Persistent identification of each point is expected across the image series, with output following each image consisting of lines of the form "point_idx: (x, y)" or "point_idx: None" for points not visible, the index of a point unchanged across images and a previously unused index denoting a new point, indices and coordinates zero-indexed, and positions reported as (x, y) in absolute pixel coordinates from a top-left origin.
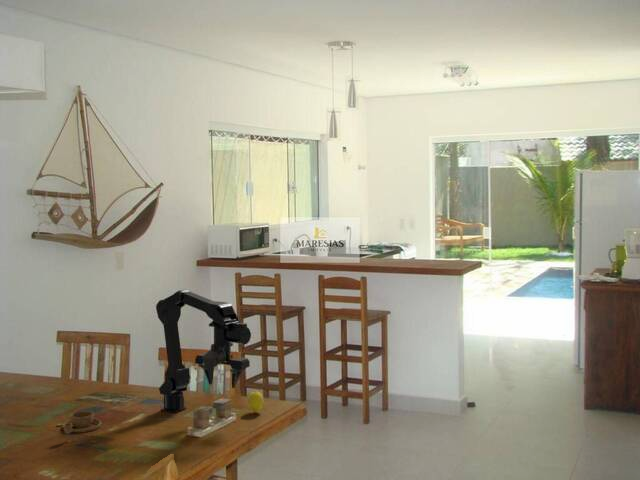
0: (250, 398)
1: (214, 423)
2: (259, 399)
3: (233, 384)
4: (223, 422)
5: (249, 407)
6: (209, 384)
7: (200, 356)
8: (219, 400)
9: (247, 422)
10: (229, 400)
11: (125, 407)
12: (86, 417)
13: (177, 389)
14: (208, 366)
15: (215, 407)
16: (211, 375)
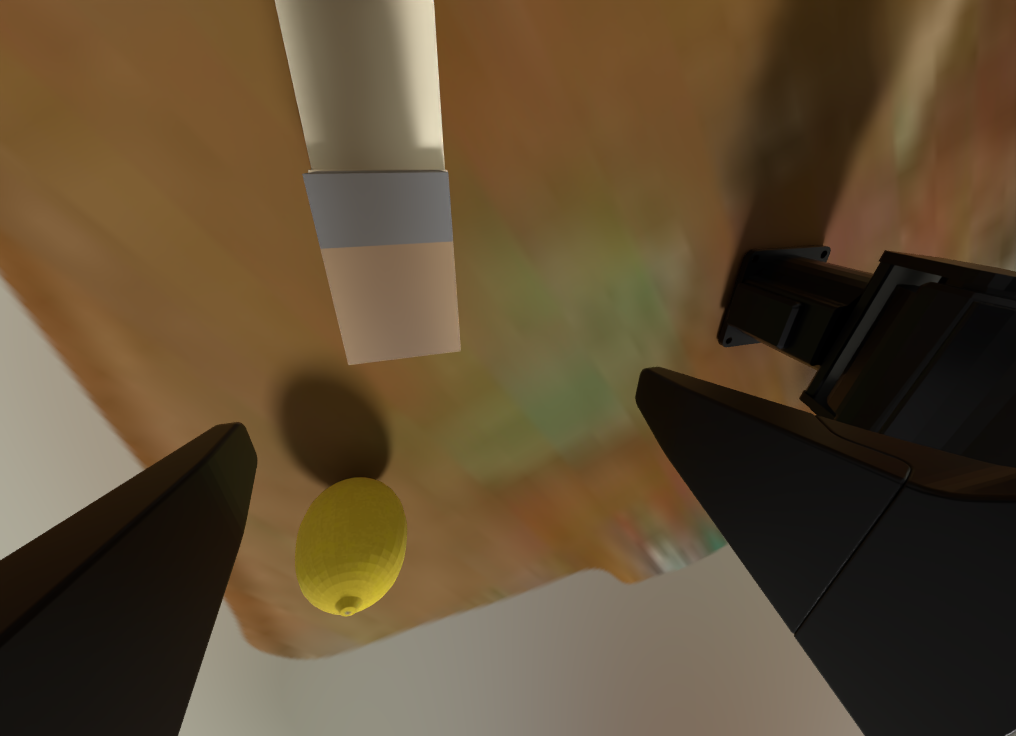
0: (355, 532)
1: (338, 63)
2: (296, 558)
3: (154, 466)
4: (310, 159)
5: (370, 482)
6: (655, 367)
7: None
8: (428, 274)
9: (245, 336)
10: (342, 338)
11: (983, 199)
12: None
13: (876, 318)
14: (1012, 612)
15: (407, 170)
16: (726, 480)
